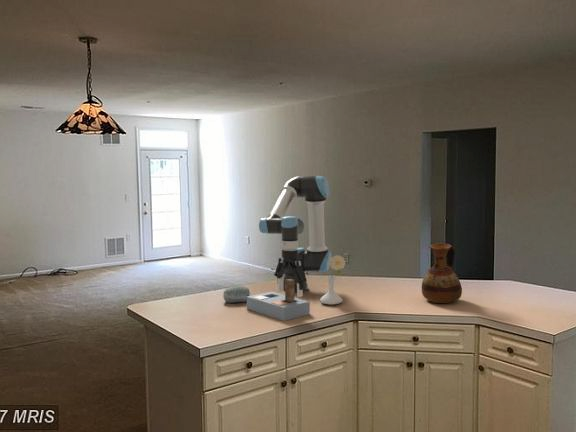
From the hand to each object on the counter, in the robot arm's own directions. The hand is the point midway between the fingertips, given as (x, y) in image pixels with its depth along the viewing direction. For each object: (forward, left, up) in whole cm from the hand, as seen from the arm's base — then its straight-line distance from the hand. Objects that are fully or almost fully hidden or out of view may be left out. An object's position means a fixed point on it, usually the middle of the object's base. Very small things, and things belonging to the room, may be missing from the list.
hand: (290, 294), depth 241 cm
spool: (-35, -6, -10) cm, 37 cm away
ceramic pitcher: (+35, +73, -10) cm, 81 cm away
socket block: (-7, -2, -9) cm, 12 cm away
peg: (0, 0, -9) cm, 9 cm away
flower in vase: (+1, +28, -10) cm, 30 cm away
